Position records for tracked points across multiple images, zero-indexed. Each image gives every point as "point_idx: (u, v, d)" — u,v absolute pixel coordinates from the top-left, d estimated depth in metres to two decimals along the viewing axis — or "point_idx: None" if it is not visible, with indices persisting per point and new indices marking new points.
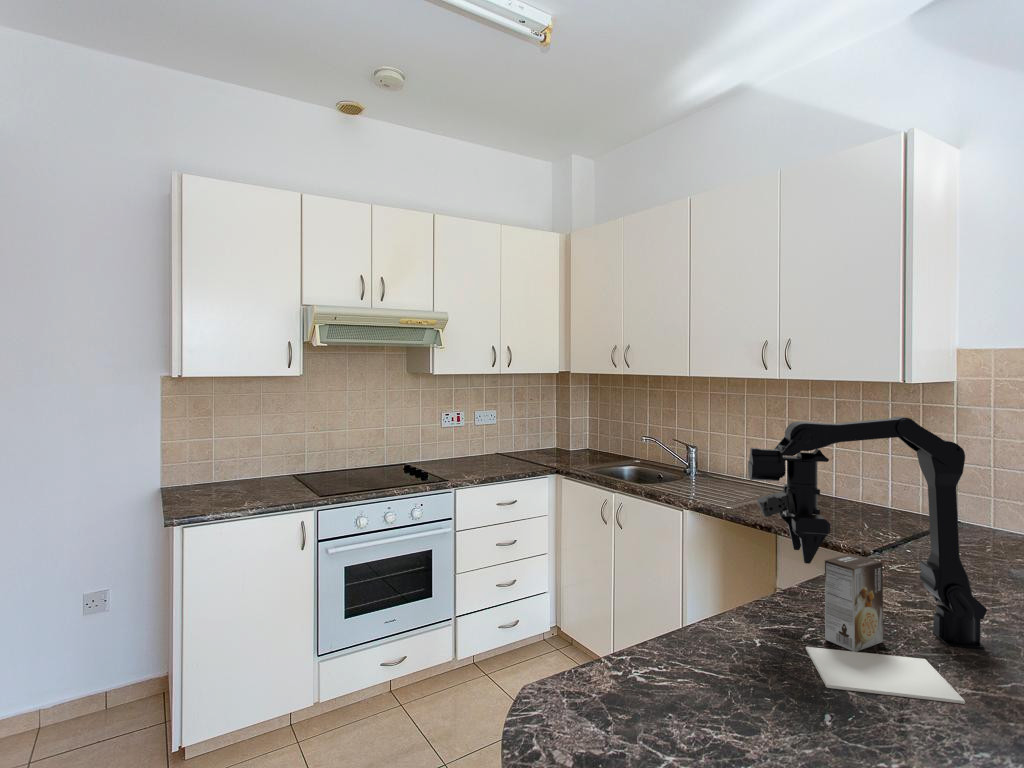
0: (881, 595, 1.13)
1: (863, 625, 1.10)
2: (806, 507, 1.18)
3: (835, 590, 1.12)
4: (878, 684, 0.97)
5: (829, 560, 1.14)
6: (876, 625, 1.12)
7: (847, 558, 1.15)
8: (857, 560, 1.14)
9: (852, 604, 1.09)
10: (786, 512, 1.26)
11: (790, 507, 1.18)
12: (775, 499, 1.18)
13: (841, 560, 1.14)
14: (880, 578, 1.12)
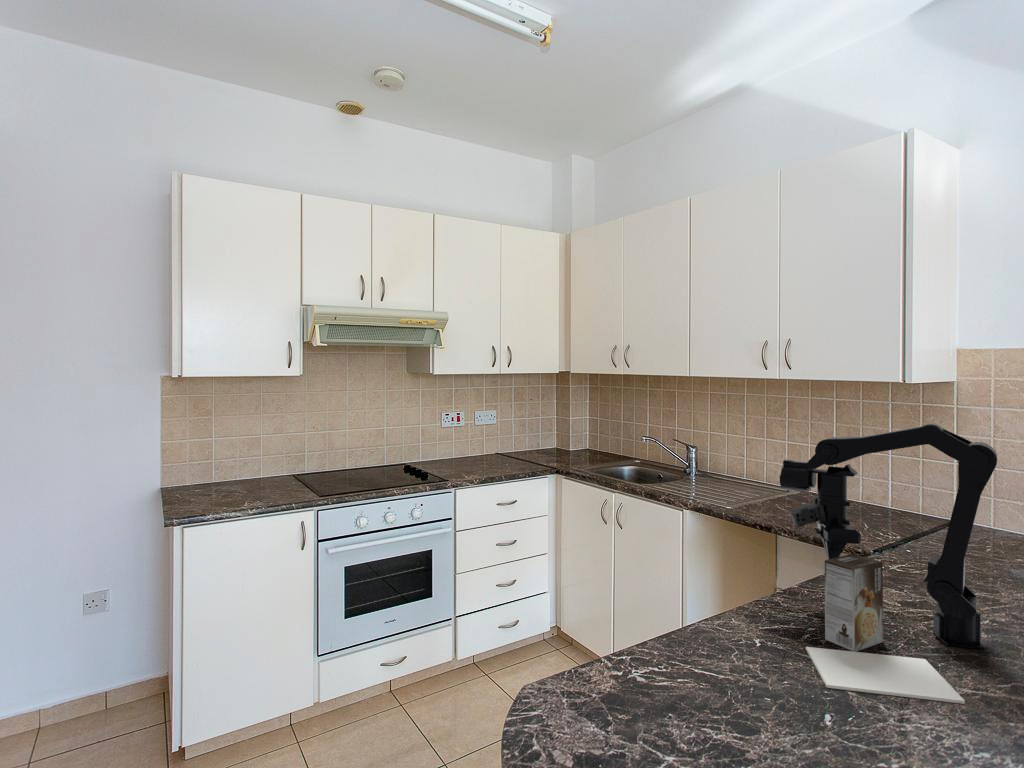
0: (881, 595, 1.13)
1: (863, 625, 1.10)
2: (836, 518, 1.25)
3: (835, 590, 1.12)
4: (878, 684, 0.97)
5: (829, 560, 1.14)
6: (876, 625, 1.12)
7: (847, 558, 1.15)
8: (857, 560, 1.14)
9: (852, 604, 1.09)
10: (821, 527, 1.30)
11: (821, 518, 1.26)
12: (807, 511, 1.25)
13: (841, 560, 1.14)
14: (880, 578, 1.12)
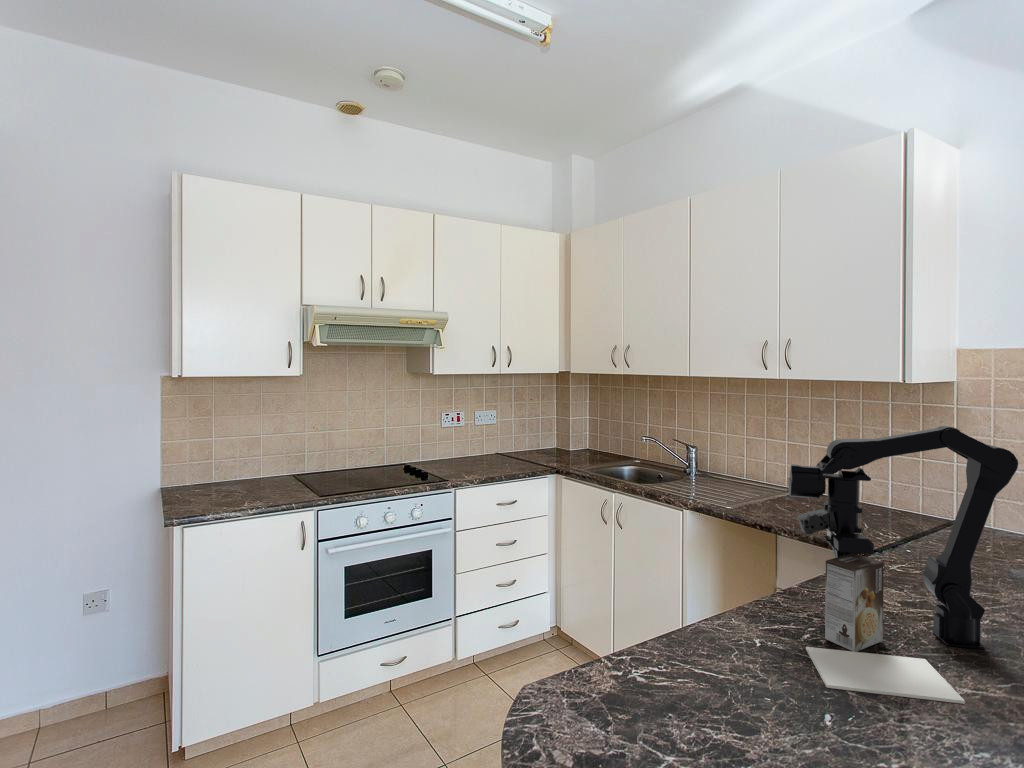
0: (882, 595, 1.12)
1: (863, 625, 1.10)
2: (847, 525, 1.18)
3: (836, 590, 1.12)
4: (878, 684, 0.97)
5: (830, 560, 1.13)
6: (876, 624, 1.12)
7: (848, 558, 1.14)
8: (858, 560, 1.13)
9: (853, 605, 1.09)
10: (831, 534, 1.22)
11: (831, 525, 1.18)
12: (817, 517, 1.18)
13: (842, 560, 1.13)
14: (881, 578, 1.12)
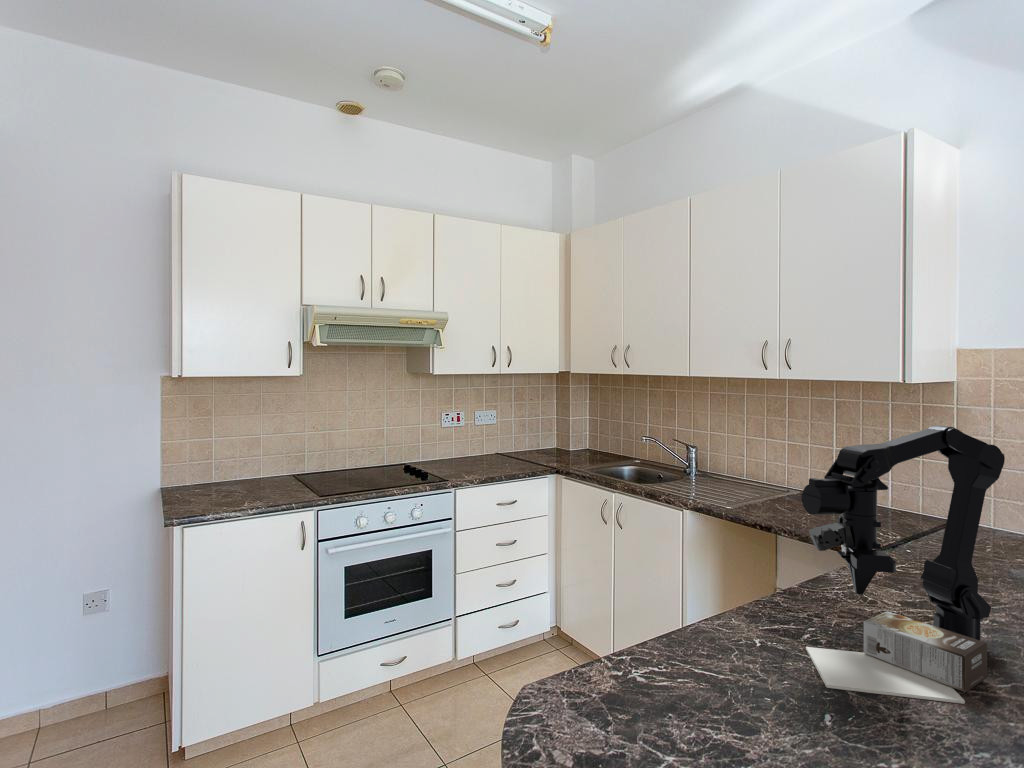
0: None
1: None
2: (865, 541, 1.08)
3: (928, 656, 0.98)
4: (878, 684, 0.97)
5: (967, 658, 0.94)
6: None
7: (977, 658, 0.96)
8: (979, 668, 0.96)
9: (917, 671, 1.00)
10: (846, 550, 1.12)
11: (848, 541, 1.08)
12: (832, 532, 1.08)
13: (972, 662, 0.95)
14: None
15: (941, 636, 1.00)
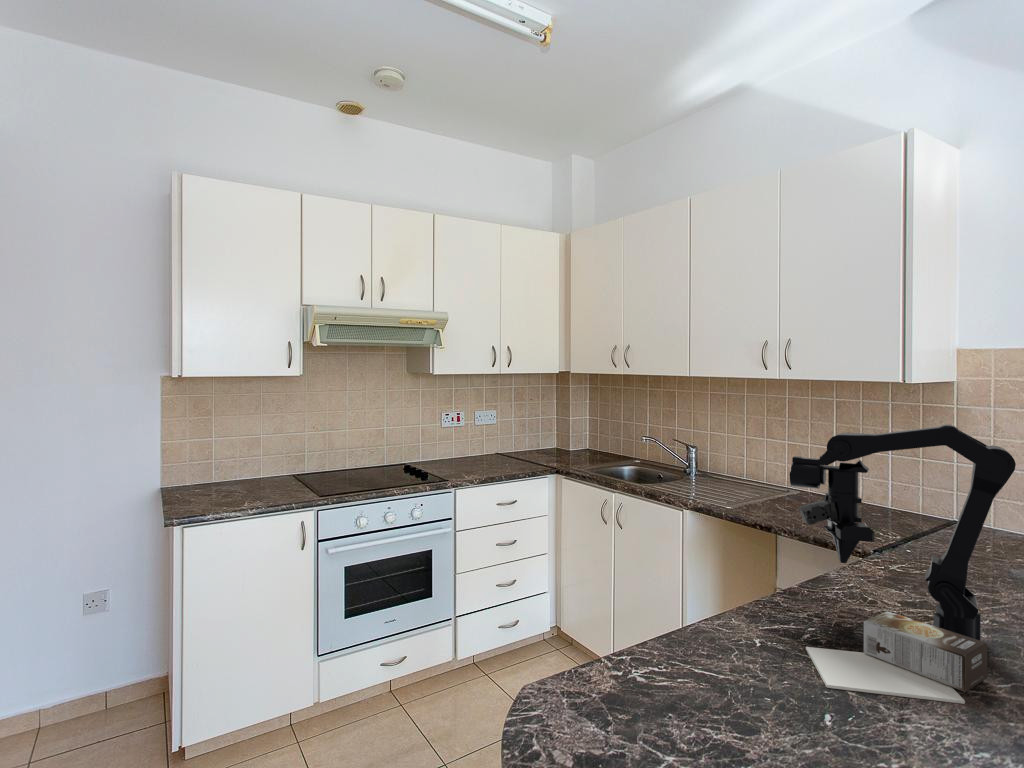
0: None
1: None
2: (848, 515, 1.22)
3: (928, 656, 0.98)
4: (878, 684, 0.97)
5: (967, 658, 0.94)
6: None
7: (977, 658, 0.96)
8: (979, 668, 0.96)
9: (917, 671, 1.00)
10: (832, 525, 1.27)
11: (833, 515, 1.23)
12: (819, 508, 1.22)
13: (972, 662, 0.95)
14: None
15: (941, 636, 1.00)
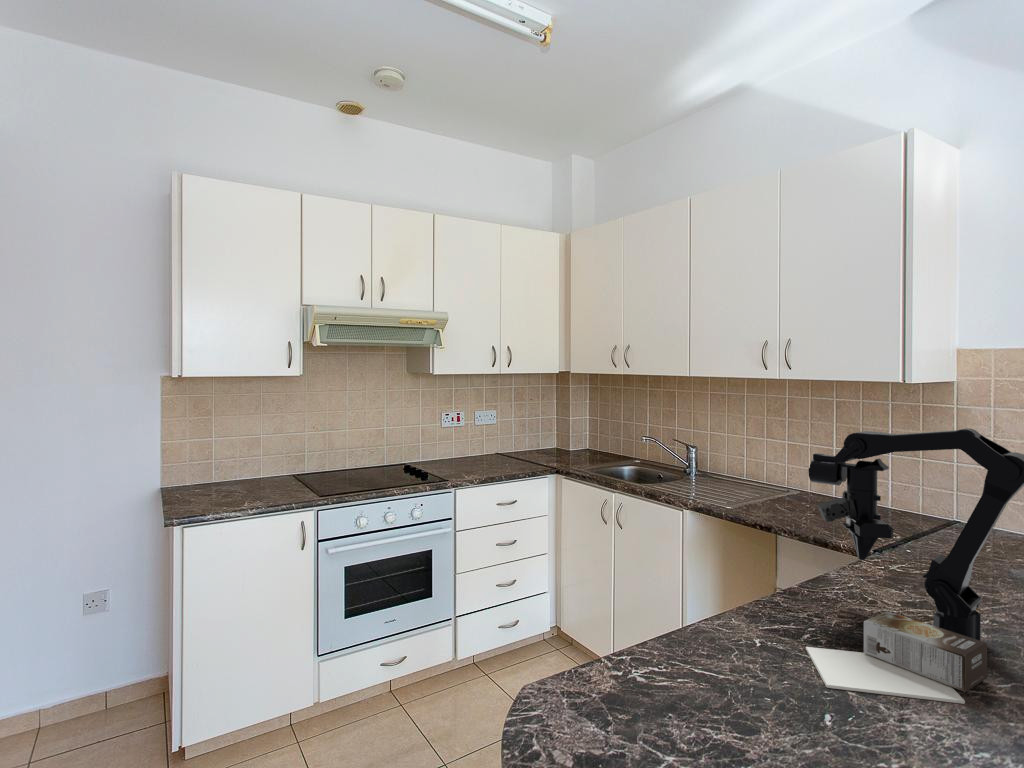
0: None
1: None
2: (867, 512, 1.24)
3: (928, 656, 0.98)
4: (878, 684, 0.97)
5: (967, 658, 0.94)
6: None
7: (977, 658, 0.96)
8: (979, 668, 0.96)
9: (917, 671, 1.00)
10: (850, 522, 1.28)
11: (852, 513, 1.24)
12: (838, 505, 1.24)
13: (972, 662, 0.95)
14: None
15: (941, 636, 1.00)
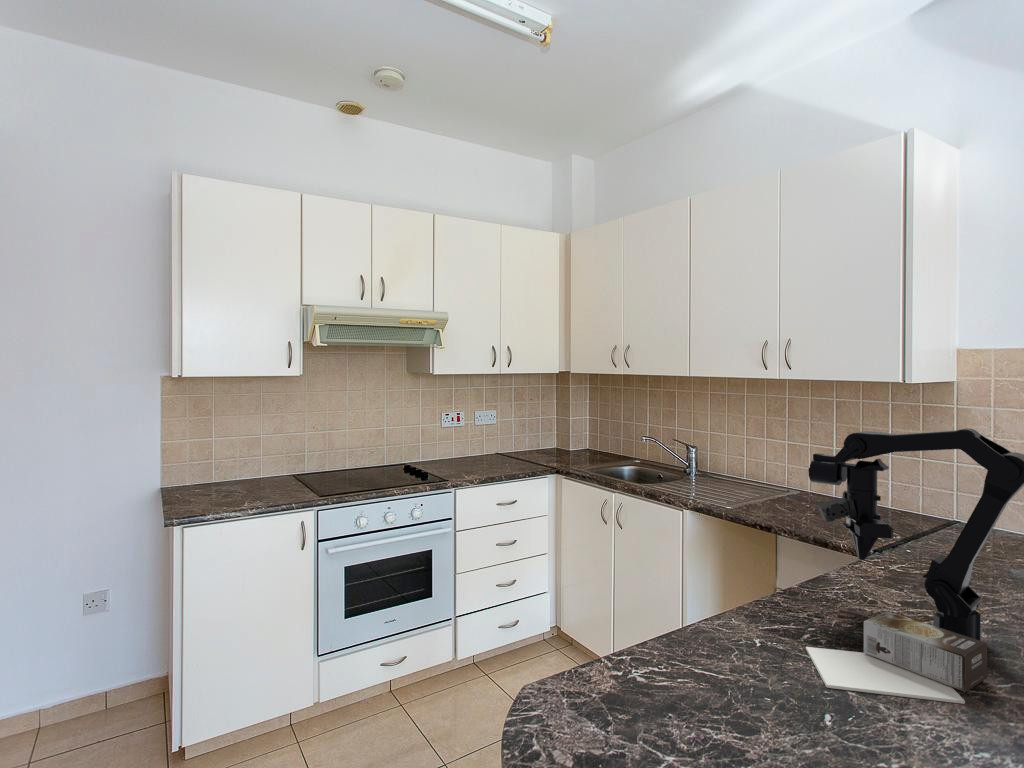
0: None
1: None
2: (867, 512, 1.24)
3: (928, 656, 0.98)
4: (878, 684, 0.97)
5: (967, 658, 0.94)
6: None
7: (977, 658, 0.96)
8: (979, 668, 0.96)
9: (917, 671, 1.00)
10: (850, 522, 1.28)
11: (852, 513, 1.24)
12: (838, 505, 1.24)
13: (972, 662, 0.95)
14: None
15: (941, 636, 1.00)
